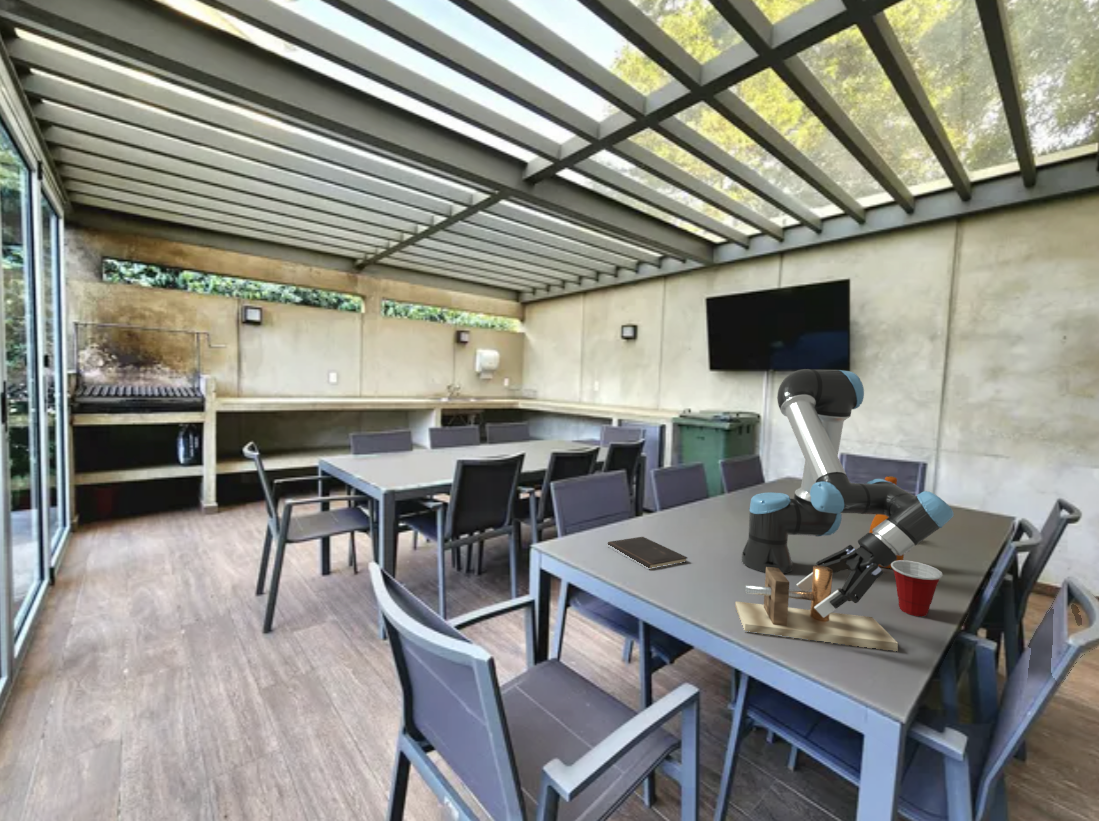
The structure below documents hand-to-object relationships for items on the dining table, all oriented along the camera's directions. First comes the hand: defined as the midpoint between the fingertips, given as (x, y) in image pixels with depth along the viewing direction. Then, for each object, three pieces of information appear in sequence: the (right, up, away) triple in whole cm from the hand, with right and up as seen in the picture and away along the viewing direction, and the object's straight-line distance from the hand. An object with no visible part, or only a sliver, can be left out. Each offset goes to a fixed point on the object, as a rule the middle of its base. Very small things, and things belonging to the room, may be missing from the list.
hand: (808, 600), depth 113 cm
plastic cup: (+33, -8, +11) cm, 36 cm away
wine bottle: (+51, -6, +45) cm, 68 cm away
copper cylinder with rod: (-5, -4, +1) cm, 6 cm away
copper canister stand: (0, -7, 0) cm, 7 cm away
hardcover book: (-30, -4, +47) cm, 56 cm away
